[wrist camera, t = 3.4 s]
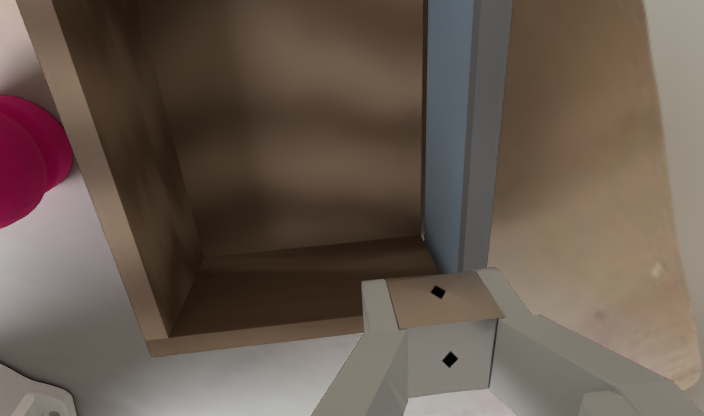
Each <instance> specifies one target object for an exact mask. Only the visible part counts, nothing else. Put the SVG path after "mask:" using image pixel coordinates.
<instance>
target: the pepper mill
mask: <svg viewBox="0 0 704 416" xmlns="http://www.w3.org/2000/svg"><path fill="white" fill-rule="evenodd" d="M72 157H73V153H72V148H71V144H70V142H69V139H68V137H67V134H66V132H65V131H64V129H63V128H62V127H61V125H60V124H59V123H58V122H57V120H56V119H55V118H54V117H53V116H51V115H50V114H49V113H48V112H46V111H45V110H44V109H43V108H41V107H39V106H37V105H36V104H34V103H32V102H30V101H27V100H25V99H22V98H18V97H14V96H8V95H0V229H1V228H4V227H6V226H8V225H10V224H12V223H14V222H16V221H18V220H20V219H22V218H23V217H25V216H27V215H28V214H29V213H30V212H31V211H33V210H34V209H35V208H36V206H37V205H38V204H39V203H40V201H41V199H42V197H43V195H44V193H45V192H47V191H49V190H50V189H52V188H53V187H55V186H56V185H58V184H59V183H60V182H62V181H63V180H64V179H65V177H66V176H67V175H68V173H69V171H70V169H71V165H72Z"/></svg>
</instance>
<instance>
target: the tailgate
mask: <svg viewBox="0 0 704 416" xmlns="http://www.w3.org/2000/svg"><path fill="white" fill-rule="evenodd" d="M512 7H513V0H428V52H427V112H426V172H425V233H424V243H425V245H426V247H427V249H428V251H429V253H430V255H431V257H432V259H433V261H434V262H435V264H436V266H437V268H438V270H439V272H440V274H448V273H457V272H466V271H472V270H476V269H484V268H487V262H488V251H489V241H490V231H491V221H492V211H493V200H494V190H495V180H496V170H497V160H498V149H499V139H500V129H501V119H502V109H503V99H504V88H505V78H506V68H507V58H508V48H509V37H510V27H511V17H512Z"/></svg>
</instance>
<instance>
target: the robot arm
mask: <svg viewBox="0 0 704 416" xmlns="http://www.w3.org/2000/svg"><path fill="white" fill-rule="evenodd" d="M361 288H362V304H363V320H364V332H365V334H363V336H362V337H361V339H360V341H359V342H358V344H357V345H356V347H355V348H354V350H353V351H352V353H351V354H350V356H349V358H348V359H347V361H346V362H345V364H344V365H343V367H342V368H341V370H340V371H339V373H338V374H337V376H336V378H335V379H334V381H333V382H332V384H331V385H330V387H329V388H328V390H327V391H326V393H325V395H324V396H323V398H322V399H321V401H320V402H319V404H318V405H317V407H316V408H315V410H314V411H313V413H312V415H311V416H403V413H404V411H405V408H406V405H407V402H408V398H413V397H420V396H427V395H434V394H440V393H447V392H458V391H469V390H480V389H489V391H490V392H491V393H492V394H494V395H495V396H496V397H497V398H498V399H499V400H500V401H502V402H503V403H504V404H505V405H506V406H507V407H508V408H509V409H511V410H512V411H513V412H514V413H515V414H516V415H517V416H704V413H703V412H702V411H701V410H700V409H699V408H698V407H697V406H696V405H695V404H694V403H693V401H692V400H690V398H688V397H687V395H685V393H684V392H683V391H682V390H681V389H680V388H679V387H678V386H677V385H676V384H675V383H674V382H673V381H671V380H669V379H667V378H665V377H663V376H661V375H659V374H657V373H656V372H654V371H652V370H650V369H648V368H646V367H644V366H642V365H640V364H638V363H636V362H634V361H632V360H630V359H628V358H626V357H624V356H622V355H620V354H618V353H616V352H614V351H612V350H610V349H608V348H606V347H604V346H602V345H600V344H598V343H596V342H594V341H592V340H590V339H588V338H586V337H584V336H582V335H580V334H578V333H576V332H574V331H572V330H570V329H568V328H566V327H564V326H562V325H560V324H558V323H556V322H554V321H552V320H550V319H548V318H546V317H544V316H542V315H540V314H539V315H532V313H531V312H530V311H529V309H528V308H527V307H526V305H525V304H524V303H523V301H522V300H521V299H520V297H519V296H518V295H517V293H516V292H515V291H514V289H513V288H512V287H511V285H510V284H509V283H508V281H507V280H506V279H505V277H504V276H503V275H502V273H501V272H500V271H499V269H497V268H495V267H491V268H484V269H476V270H472V271H466V272H457V273H448V274H439V275H430V276H429V275H425V276H413V277H401V278H389V279H385V280H384V279H378V280H368V281H362V285H361ZM0 416H77V415H76V411H75V406H74V402H73V398H72V396H71V394H70V393H68V392H67V391H65V390H63V389H61V388H58V387H55V386H52V385H48V384H44V383H40V382H36V381H33V380H30V379H28V378H26V377H24V376H22V375H20V374H18V373H17V372H15V371H13V370H11V369H10V368H8V367H6V366H4V365H2V364H0Z"/></svg>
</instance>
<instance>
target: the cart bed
mask: <svg viewBox="0 0 704 416" xmlns="http://www.w3.org/2000/svg"><path fill="white" fill-rule="evenodd" d="M16 3H17V5H18V8H19V10H20V13H21V16H22V18H23V21H24V24H25V26H26V29H27V31H28V34H29V37H30V39H31V42H32V45H33V47H34V50H35V52H36V55H37V58H38V60H39V63H40V66H41V68H42V71H43V74H44V76H45V79H46V81H47V84H48V87H49V89H50V92H51V95H52V97H53V100H54V102H55V105H56V108H57V110H58V113H59V116H60V118H61V121H62V123H63V126H64V129H65V131H66V134H67V137H68V139H69V142H70V144H71V147H72V150H73V152H74V155H75V158H76V160H77V163H78V166H79V168H80V171H81V173H82V176H83V179H84V181H85V184H86V187H87V189H88V192H89V194H90V197H91V200H92V202H93V205H94V208H95V210H96V213H97V215H98V218H99V221H100V223H101V226H102V229H103V231H104V234H105V237H106V239H107V242H108V244H109V247H110V250H111V252H112V255H113V258H114V260H115V263H116V265H117V268H118V271H119V273H120V276H121V279H122V281H123V284H124V286H125V289H126V292H127V294H128V297H129V300H130V302H131V305H132V307H133V310H134V313H135V315H136V318H137V321H138V323H139V326H140V329H141V331H142V334H143V336H144V339H145V342H146V344H147V347H148V350H149V352H150V355H151V357H158V356H167V355H176V354H184V353H193V352H201V351H210V350H218V349H227V348H235V347H244V346H253V345H261V344H270V343H278V342H287V341H295V340H304V339H312V338H321V337H330V336H338V335H347V334H355V333H364V320H363V304H362V288H361V285H362V281H368V280H378V279H384V280H385V279H389V278H401V277H413V276H425V275H429V276H430V275H439V274H440V272H439V270H438V268H437V266H436V264H435V262H434V261H433V259H432V257H431V255H430V253H429V251H428V249H427V247H426V245H425V243H424V241H423V239H422V237H421V235H420V233H421V146H422V60H423V0H16Z"/></svg>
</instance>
